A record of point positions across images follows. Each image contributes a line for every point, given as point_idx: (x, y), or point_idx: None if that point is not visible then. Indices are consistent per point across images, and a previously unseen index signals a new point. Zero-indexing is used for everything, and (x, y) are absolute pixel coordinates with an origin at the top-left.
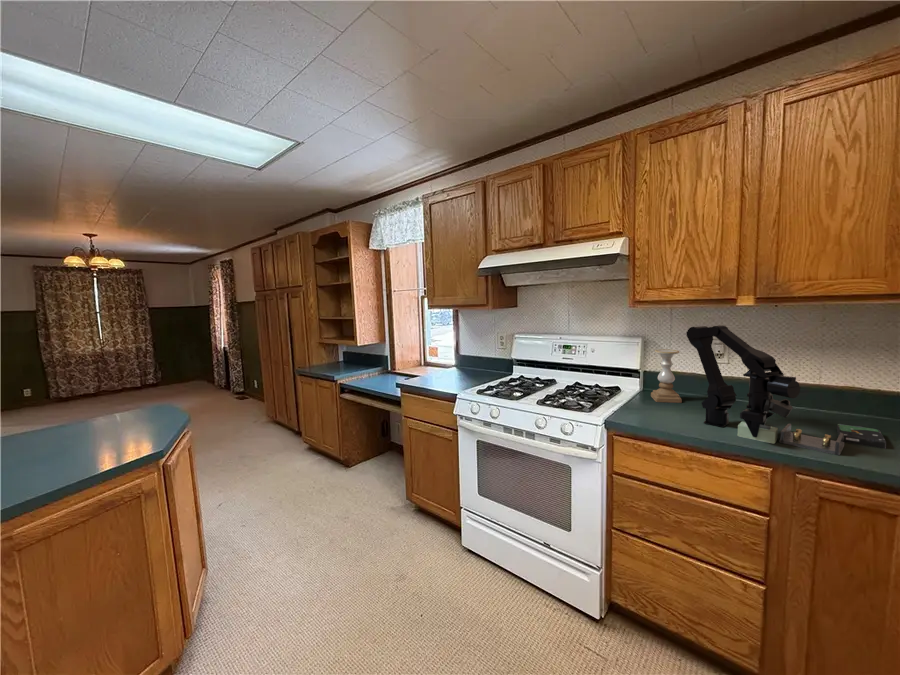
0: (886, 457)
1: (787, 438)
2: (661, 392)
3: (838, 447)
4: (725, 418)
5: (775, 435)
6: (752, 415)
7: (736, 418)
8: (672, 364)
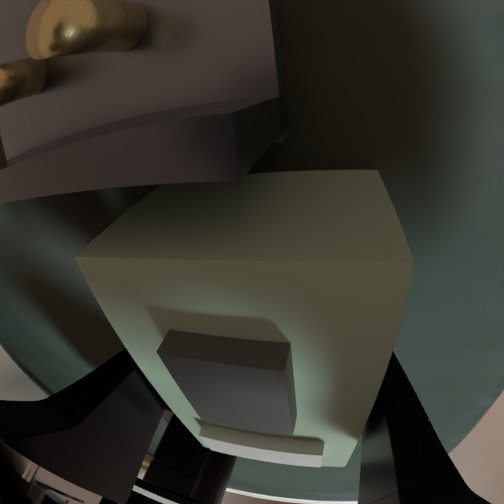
0: None
1: (144, 96)
2: (139, 472)
3: None
4: (198, 455)
5: (328, 214)
6: None
7: (73, 364)
8: None
